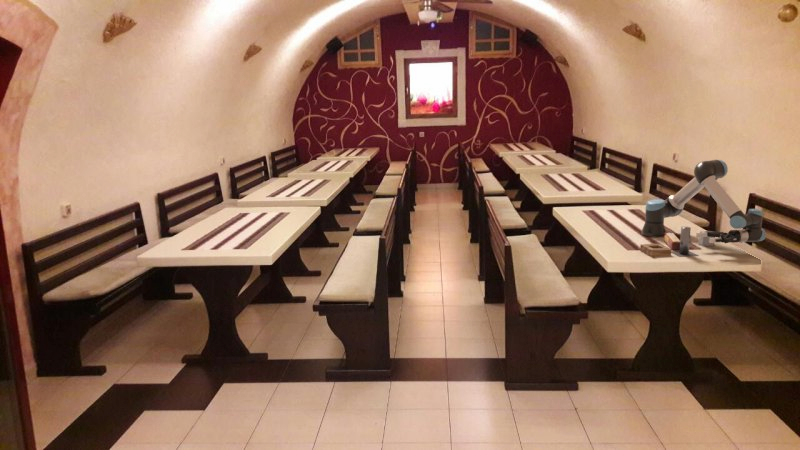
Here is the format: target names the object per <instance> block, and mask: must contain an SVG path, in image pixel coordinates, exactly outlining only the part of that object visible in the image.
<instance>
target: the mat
mask: <svg viewBox="0 0 800 450" xmlns="http://www.w3.org/2000/svg"><path fill="white" fill-rule="evenodd" d="M671 254H673V255H675V256H677V257H679V258H687V257H688V258H690V257H699V255H698V254H696V253H695V252H692V251H690V250H689V254H688V255H682V254H679V250H671Z"/></svg>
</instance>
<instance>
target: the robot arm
mask: <svg viewBox="0 0 800 450" xmlns="http://www.w3.org/2000/svg"><path fill="white" fill-rule="evenodd" d="M728 172H729V171H728V165H727V164H726V162H725V161H723V160H722V159H712V160H704V161H700V162H698V163H697V164H696V166H695V167H694V170H693V174H694V177H693V178H692V179H691V180H690V181H689V182H687V183H686V185H684V186H683V187H682V188H681V189H680V190H679V191H677V192H676V193H675V194H671V195H670V196H668V197H666V199H665V200H664V199H661V198H660V199H658V198H657V199H656V198H655V199H649V200H648V201H646V203H645V217H644V224H643V227H642V230H641V235H642V236H645V237H650V238H660V237H661V238H664V235H665V234H666V233H667V231H666V228H665V223H664V222H665V218H666V219H667V218H672V217H673V218H674V217H677V216H679V215H681V213H682V212H683V209H684V207H685V204H686V203H687V202H689V201H690V200H691V199H692V198H693V197H694V196H695V195H697V194H698V193H699V192H701V191H702V190H703V189H705V190H706V191H707V193H708V194H709V195H710V196H711V197H712V198H713V199H714V201H715V202H716V203H717V205H718V206H719V208H720V209H721V210H722V211H723V212H724V213H725V215H726V216H727V217H728V218H729V219H730V220H729V224H730V227H731V228H733V229H731V230H729V231H728V232H724V231H713V232H710V231H711V230H705V232H703V233H700V232H696V233H695V238H699V237H706V238H707V236H708V237H715V238H709V243H716V244H717V243H724V244H728V243H734V244H735V243H740V244H742V243H747V242H748V243H749V242H750V243H751V242H753V243H754V242H755V243H756V242H762V241H764V240H765V239H766V236H767V234H766V231H765V230H764V229H763V228H762V225H763V217H764V216H763V213H764V211H763V210H762V209H760V208H749V209H748V210H747V213H744V212H743V211H742V209H740V207H739V206H738V205H737V203H736V202H735V201H734V200H733V199H732V197H730V195H729V194H728V193H727V191H726V190H725V189H724V188H723V186H722V185H721V184H720V182H718V181H717V180H719V179H722V178H724V177H725V176H727V174H728ZM745 228H746V229H745Z"/></svg>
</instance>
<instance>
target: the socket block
mask: <svg viewBox="0 0 800 450" xmlns="http://www.w3.org/2000/svg"><path fill="white" fill-rule="evenodd" d="M639 249H640V250H639V251H640V252H641V253H643V252H644V253H643V254H646V256H649V257H650V258H652V257H653V258H654V257H665V256H666V257H668V256H672V253H671V251H672V250H671V248H670V247H669V246H668V247H667V246H665V245H664V244H662V243H643V244H642V243H640V247H639Z"/></svg>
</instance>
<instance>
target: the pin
mask: <svg viewBox="0 0 800 450" xmlns="http://www.w3.org/2000/svg"><path fill="white" fill-rule="evenodd" d="M679 240H680V250H678V251H679V254H682V255H688V254H689V251H690V242H691V241H690V240H691V226H681V228H680V239H679Z"/></svg>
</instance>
